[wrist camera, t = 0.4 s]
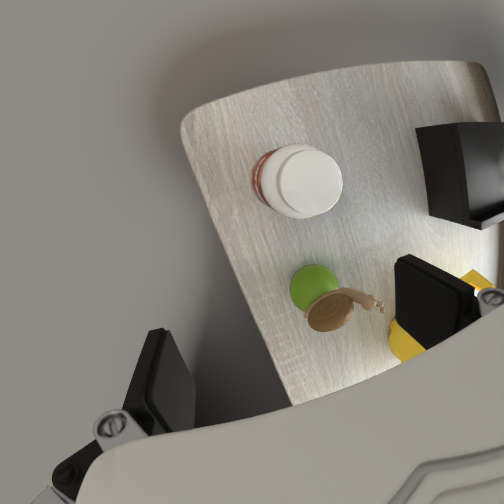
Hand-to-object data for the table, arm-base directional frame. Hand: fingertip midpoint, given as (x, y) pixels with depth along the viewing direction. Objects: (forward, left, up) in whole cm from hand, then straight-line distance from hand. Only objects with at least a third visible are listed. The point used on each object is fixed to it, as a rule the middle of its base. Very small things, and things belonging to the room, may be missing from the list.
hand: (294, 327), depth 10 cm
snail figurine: (+8, +6, -21) cm, 23 cm away
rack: (-1, +33, -21) cm, 39 cm away
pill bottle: (-4, +5, -21) cm, 22 cm away
